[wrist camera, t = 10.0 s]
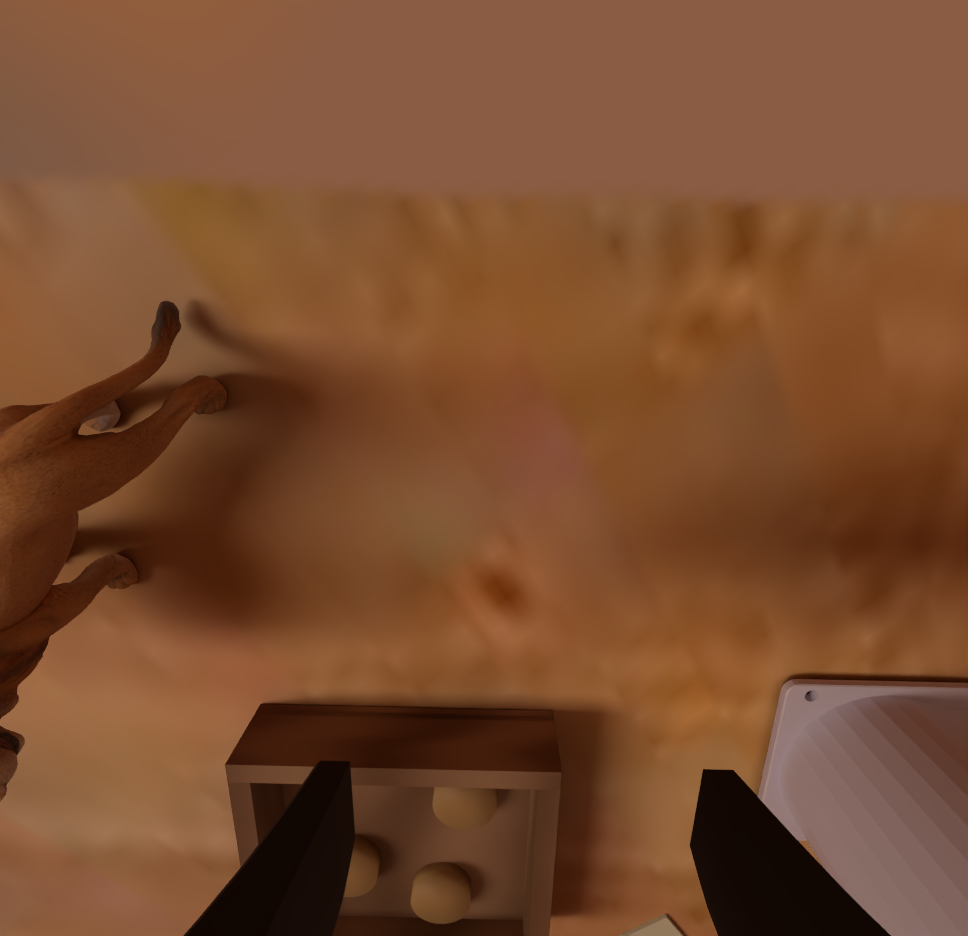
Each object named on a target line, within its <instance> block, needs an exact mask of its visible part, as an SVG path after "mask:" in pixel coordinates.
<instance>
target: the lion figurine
mask: <svg viewBox="0 0 968 936" xmlns="http://www.w3.org/2000/svg"><path fill="white" fill-rule="evenodd" d="M180 329H181V324H180V321H179V311H178V309H177V307H176V306H175V304H174V303H172V302H169V301H163V302H161V303H160V304H159V307H158V310H157V315H156V320H155V323H154V325H153V327H152V331H151V335H152V342H151V347H150V349H149V351H148V352H147V354H146V355H145V356H144V357H143V358H142V359H141V360H140V361H138V362H136V363H135V364H133V365H131V366H130V367H128V368H126V369H125V370H123V371H121V372H119V373H118V374H115V375H113V376H111V377H109V378H107V379H105V380H103V381H101V382H99V383H96V384H94V385H91V386H88V387H86V388H84V389H82V390H80V391H78V392H76V393H74V394H72V395H69V396H68V397H66V398H64V399H62V400H60V401H58V402H56V403H51V404H41V405H31V406H27V405H13V406H8V407H5V408H2V409H0V719H1V717H3V716H4V715H5V714H7V713H8V712H10V711H11V710H12V709H13V708H14V707H15V705H16V704H17V703H18V701H19V696H18V695H17V687H18V685H19V684H20V683H21V682H22V681H23V680H24V679H25V678H26V677H28V676H29V675H30V673H31V672H32V671H33V670H34V669H35V667H36V666H37V664H38V662H39V661H40V660H41V658H42V657H43V652H44V651H45V649H46V647H47V645H48V641H49V637H50V636H51V635H52V634H54V633H55V632H57V631H58V630H60V629H61V628H62V627H64V626H65V625H67V624H68V623H69V622H70V621H72V620H73V619H74V618H75V617H76V616H78V615H79V614H80V613H81V612H82V611H83V610H84V609H85V608H86V607H87V606H88V605H89V604H90V603H91V602H92V600H93V599H94V598H95V596H96V595H97V593H98V592H99V591H100V590H101V589H102V588H104V587H105V586H106V585H108V586H109V587H110V588H112V589H115V588H118V589H124V588H127V587H129V586H130V585H131V584H134V583H135V582H136V581H137V580H138V573H137V570H136V568H135V566H134V565H133V563H132V562H131V561H130V560H129V559H127V558H125V557H123V556H120V555H118V554H108V555H106V556H104V557H102V558H100V559H98V560H96V561H94V562H93V563H91V564H90V565H89V566H87V567H86V568H85V569H84V571H83V572H82V573H81V574H80V576H78V577H77V578H76V579H75V580H73V581H72V582H70V583H62V584H58V585H52V584H53V583H54V581H55V580H56V578H57V577H58V575H59V573H60V571H61V569H62V568H63V566H64V564H65V562H66V560H67V558H68V556H69V553H70V550H71V548H72V545H73V542H74V539H75V536H76V532H77V529H78V519H79V517H78V512H77V511H80V510H82V509H84V508H86V507H88V506H90V505H92V504H94V503H96V502H98V501H100V500H102V499H104V498H106V497H108V496H110V495H111V494H113V493H115V492H116V491H117V490H119V489H120V488H121V487H123V486H124V485H125V484H127V483H128V482H129V481H131V480H132V479H134V478H135V477H137V476H138V475H139V474H141V473H142V472H143V471H144V470H145V469H146V468H147V467H149V466H150V465H151V464H152V463H153V462H154V461H155V460H156V459H157V458H158V457H159V456H160V454H161V453H162V452H163V451H164V450H165V449H166V448H167V446H168V445H169V443H170V442H171V441H172V439H173V438H174V436H175V435H176V434H177V432H178V431H179V429H180V428H181V427H182V425H183V424H184V423H185V422H186V420H187V419H188V418H189V417H190V416H191V415H192V413H193V412H194V411H195V412H196V413H197V414H204V413H205V414H212V413H215V412H217V411H220V410H221V409H223V408H224V406H225V404H226V401H227V392H226V390H225V388H224V387H223V386H222V385H221V384H220V383H219V382H218V381H216V380H215V379H212V378H210V377H208V376H198V377H195V378H193V379H192V380H190V381H188V382H187V383H185V384H183V385H181V386H179V387H178V388H177V389H175V390H174V391H173V392H172V393H171V394H170V395H169V396H168V397H167V399H166V400H165V402H164V403H163V405H162V407H161V408H160V409H159V410H158V411H157V412H155V413H154V414H152V415H151V416H150V417H148V418H146V419H145V420H143V421H141V422H139V423H137V424H135V425H133V426H132V427H130V428H128V429H126V430H124V431H122V432H119V433H114V432H106V433H100V434H92V435H87V436H85V435H79V434H78V431H79V429H80V427H81V425H82V424H83V423H85V424H86V425H87V426H89V427H91V428H93V429H95V430H97V431H105V430H108V429H110V428H112V427H114V426H115V425H116V423H117V422H118V420H119V418H120V410H119V408H118V406H117V404H116V402H115V400H116V399H118V398H120V397H122V396H123V395H125V394H126V393H128V392H130V391H131V390H133V389H134V388H136V387H137V386H138V385H140V384H141V383H142V382H144V381H146V380H147V379H148V378H150V377H151V376H152V375H153V374H154V373H155V372H156V371H157V370H158V369H159V368H160V367H161V366H162V364H163V363H164V362H165V361H166V358H167V356H168V354H169V350H170V348H171V345H172V343H173V341H174V339H175V337H176V335H177V333H178V332H179V330H180ZM24 743H25V739H24V737H23V736H22V735H21V734H18V733H16V732H13V731H10V730H7V729H5V728H3V727H1V726H0V801H1V800H2V799H3V797H4V796H5V794H6V791H7V788H6V785H7V783H8V782H9V781H10V779H11V778H12V777H13V775H14V773H15V771H16V769H17V765H18V763H17V755H18V753H19V752H20V751H21V749H22V747H23V745H24Z"/></svg>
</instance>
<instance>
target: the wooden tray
mask: <svg viewBox="0 0 968 936" xmlns="http://www.w3.org/2000/svg"><path fill="white" fill-rule="evenodd" d="M319 761H350V766H351V781H352V796H353V810H354V825H355V842H354V847H353V852H352V857H351V862H350V867H349V873H348V877H347V882H346V887H345V892H344V897H343V901H342V904H341V908H340V911H339V915H338V918H337V922H336V925H335V928H334V932H333V935H332V936H549V930H550V918H551V905H552V892H553V879H554V867H555V854H556V841H557V828H558V815H559V803H560V790H561V777H562V770H561V764H560V758H559V752H558V745H557V739H556V733H555V726H554V720H553V714H552V711H545V710H501V709H457V708H413V707H370V706H326V705H282V704H260V706H259V708H258V709H257V711H256V713H255V715H254V716H253V718H252V720H251V721H250V723H249V725H248V726H247V728H246V730H245V732H244V733H243V735H242V737H241V738H240V740H239V742H238V743H237V745H236V747H235V749H234V750H233V752H232V754H231V755H230V757H229V759H228V761H227V762H226V764H225V768H226V774H227V781H228V787H229V794H230V800H231V807H232V813H233V820H234V826H235V833H236V839H237V846H238V852H239V859H240V865H241V867H242V865H243V864H244V863H245V861H246V860H247V859H248V858H249V856H250V855H251V854H252V852H253V851H254V850H255V848H256V847H257V846H258V844H259V843H260V842H261V841H262V839H263V838H264V837H265V835H266V834H267V833H268V831H269V830H270V829H271V827H272V826H273V825H274V823H275V822H276V821H277V819H278V818H279V817H280V815H281V814H282V812H283V811H284V810H285V808H286V807H287V806H288V804H289V803H290V801H291V800H292V798H293V797H294V796H295V794H296V793H297V791H298V790H299V788H300V787H301V785H302V784H303V783H304V781H305V780H306V778H307V777H308V775H309V774H310V772H311V771H312V769H313V768H314V766H315V765H316V764H317V763H318V762H319Z"/></svg>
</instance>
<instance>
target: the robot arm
mask: <svg viewBox="0 0 968 936" xmlns="http://www.w3.org/2000/svg"><path fill="white" fill-rule="evenodd" d="M809 691H811V692H810V693H809V694H806V693H807V692H809ZM798 840H804V841H808V842H809V844H810V846H811V847H812V849H813V851H814V852H815V854H816V855H817V857H818V859H819V860H820V862H821V864H822V865H823V867H824V868H823V867H822V866H821V865H820V864H819V863H818V862H817V861H816V860H815V858H814V857H813V856H812V855H811V854H810V853H809V852H808V851H807V850H806V849H805V848H804V847H803V846H802V845H801V844H800V843H799V841H798ZM354 842H355V825H354V810H353V796H352V781H351V766H350V761H319V762H318V763H317V764H316V765H315V766H314V768H313V769H312V771H311V772H310V774H309V775H308V777H307V778H306V780H305V781H304V783H303V784H302V785H301V787H300V788H299V790H298V791H297V793H296V794H295V796H294V797H293V798H292V800H291V801H290V803H289V804H288V806H287V807H286V808H285V810H284V811H283V812H282V814H281V815H280V817H279V818H278V819H277V821H276V822H275V823H274V825H273V826H272V827H271V829H270V830H269V831H268V833H267V834H266V835H265V837H264V838H263V839H262V841H261V842H260V843H259V844H258V846H257V847H256V848H255V850H254V851H253V852H252V854H251V855H250V856H249V858H248V859H247V860H246V861H245V863H244V864H243V865H242V867H241V868H240V869H239V870H238V872H237V873H236V874H235V875H234V877H233V878H232V879H231V880H230V881H229V883H228V884H227V885H226V886H225V887H224V889H223V890H222V891H221V892H220V893H219V895H218V896H217V897H216V898H215V899H214V901H213V902H212V903H211V904H210V905H209V907H208V908H207V909H206V910H205V911H204V913H203V914H202V915H201V916H200V917H199V919H198V920H197V921H196V922H195V923H194V924H193V925H192V927H191V928H190V929H189V930H188V931H187V932H186V933H185V935H184V936H332V935H333V932H334V928H335V925H336V922H337V918H338V915H339V911H340V908H341V904H342V901H343V897H344V892H345V887H346V882H347V877H348V873H349V867H350V862H351V857H352V852H353V847H354ZM690 848H691V851H692V855H693V859H694V862H695V866H696V870H697V873H698V877H699V880H700V884H701V887H702V890H703V894H704V897H705V901H706V904H707V907H708V910H709V913H710V915H711V918H712V921H713V923H714V926H715V928H716V931H717V934H718V936H968V683H953V682H909V681H865V680H820V679H792V680H789V681H787V682H786V683H785V684H784V685H783V686H782V689H781V692H780V697H779V702H778V706H777V711H776V715H775V720H774V725H773V729H772V734H771V738H770V743H769V748H768V752H767V757H766V761H765V766H764V771H763V775H762V780H761V784H760V789H759V794H758V797H757V795H756V794H755V793H754V792H753V791H752V790H751V789H750V788H749V787H748V786H747V784H746V783H745V782H744V781H743V780H742V779H741V778H740V777H739V776H738V775H737V774H736V772H735V771H734V770H709V769H703V773H702V779H701V785H700V791H699V796H698V802H697V808H696V813H695V819H694V825H693V830H692V836H691V842H690Z"/></svg>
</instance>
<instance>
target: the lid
mask: <svg viewBox="0 0 968 936" xmlns="http://www.w3.org/2000/svg"><path fill="white" fill-rule="evenodd" d="M619 936H684V935H683V934H682V932H681V931H680V930H679V929H678V928H677V927H676V925H675V924H674V923H673V922H672V921H671V920H670V919H669V917H668V916H667V915H666V914H664V915H662V916H659V917H657V918H655V919H653V920H651V921H649V922H647V923H645V924H642V925H640V926H638V927H636V928H634V929H632V930H630V931H628V932H625V933H623V934H621V935H619Z"/></svg>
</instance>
